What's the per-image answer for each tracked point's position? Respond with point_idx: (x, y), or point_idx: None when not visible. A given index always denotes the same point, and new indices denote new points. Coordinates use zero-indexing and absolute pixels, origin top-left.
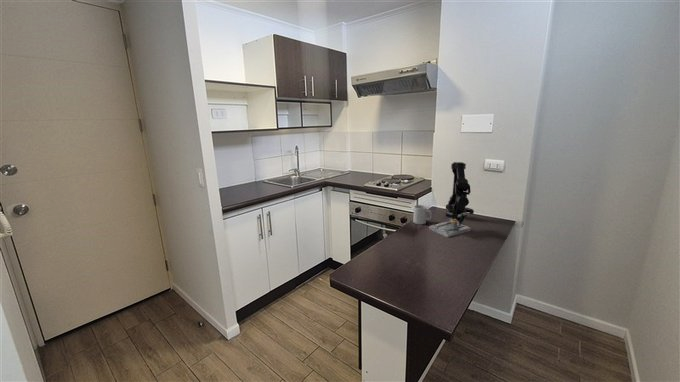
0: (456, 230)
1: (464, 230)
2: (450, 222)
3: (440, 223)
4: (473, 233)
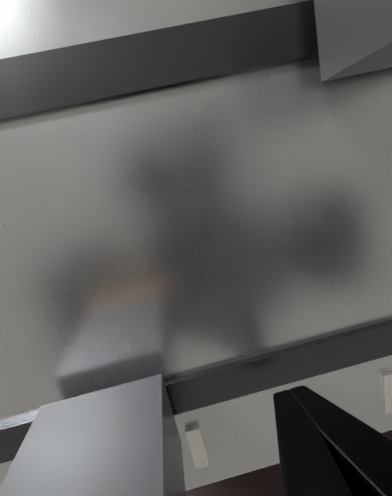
0: None
1: None
2: (317, 21)
3: None
4: None
